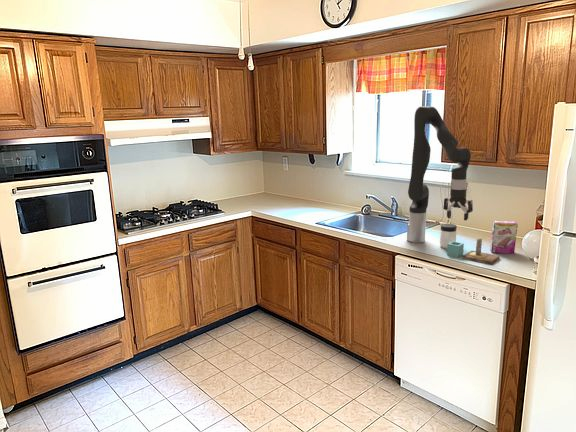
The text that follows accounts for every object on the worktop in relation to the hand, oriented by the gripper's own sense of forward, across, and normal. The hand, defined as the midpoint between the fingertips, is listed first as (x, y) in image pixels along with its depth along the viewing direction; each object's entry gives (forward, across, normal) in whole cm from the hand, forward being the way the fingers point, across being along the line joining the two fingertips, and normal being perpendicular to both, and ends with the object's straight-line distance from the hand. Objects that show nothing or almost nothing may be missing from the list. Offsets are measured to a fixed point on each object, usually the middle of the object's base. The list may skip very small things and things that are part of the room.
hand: (457, 219), depth 224 cm
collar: (+19, 0, -1) cm, 19 cm away
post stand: (+19, +12, +2) cm, 23 cm away
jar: (+19, -10, +10) cm, 23 cm away
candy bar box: (+20, +16, +19) cm, 32 cm away
